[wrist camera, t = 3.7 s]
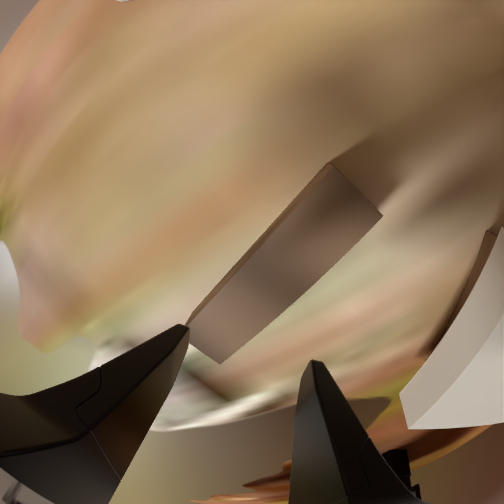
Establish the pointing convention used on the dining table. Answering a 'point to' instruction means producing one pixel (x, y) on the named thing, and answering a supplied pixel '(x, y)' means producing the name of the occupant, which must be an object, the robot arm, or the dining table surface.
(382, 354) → the dining table surface
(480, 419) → the slab
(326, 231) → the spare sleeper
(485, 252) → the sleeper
